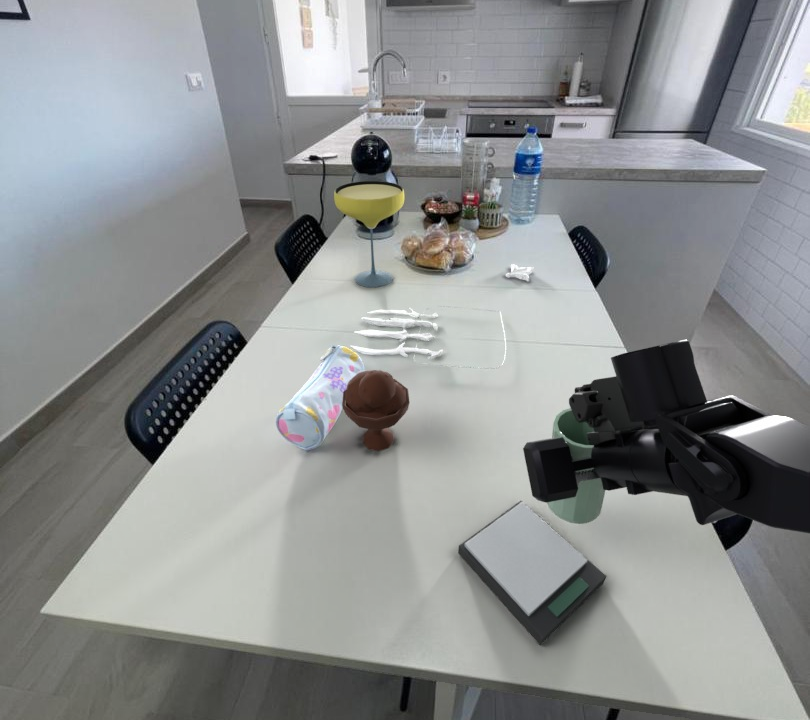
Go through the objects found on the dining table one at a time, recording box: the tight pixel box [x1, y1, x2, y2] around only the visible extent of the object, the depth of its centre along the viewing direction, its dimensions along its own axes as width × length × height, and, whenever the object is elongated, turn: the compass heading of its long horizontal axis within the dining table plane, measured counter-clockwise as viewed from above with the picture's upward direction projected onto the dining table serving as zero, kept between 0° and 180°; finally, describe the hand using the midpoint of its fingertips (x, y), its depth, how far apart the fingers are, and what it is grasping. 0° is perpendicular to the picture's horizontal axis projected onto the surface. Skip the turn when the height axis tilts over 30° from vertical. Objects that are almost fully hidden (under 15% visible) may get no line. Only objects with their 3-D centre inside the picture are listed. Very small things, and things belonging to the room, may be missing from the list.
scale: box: [457, 500, 608, 646], centre depth 57 cm, size 14×12×2 cm
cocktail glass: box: [333, 180, 405, 288], centre depth 122 cm, size 18×18×25 cm
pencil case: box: [275, 344, 366, 451], centre depth 80 cm, size 21×9×10 cm, turn 164°
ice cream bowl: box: [342, 369, 410, 452], centre depth 73 cm, size 11×11×15 cm
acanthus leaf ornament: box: [505, 263, 534, 282], centre depth 130 cm, size 8×7×2 cm
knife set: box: [350, 305, 507, 370], centre depth 104 cm, size 26×35×1 cm
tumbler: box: [546, 407, 606, 525], centre depth 56 cm, size 7×7×14 cm
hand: (572, 456), depth 57 cm, fingers closed on tumbler, 7 cm apart
